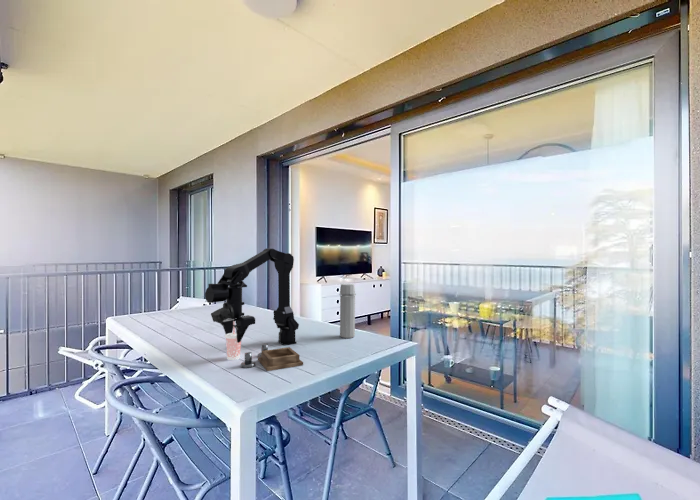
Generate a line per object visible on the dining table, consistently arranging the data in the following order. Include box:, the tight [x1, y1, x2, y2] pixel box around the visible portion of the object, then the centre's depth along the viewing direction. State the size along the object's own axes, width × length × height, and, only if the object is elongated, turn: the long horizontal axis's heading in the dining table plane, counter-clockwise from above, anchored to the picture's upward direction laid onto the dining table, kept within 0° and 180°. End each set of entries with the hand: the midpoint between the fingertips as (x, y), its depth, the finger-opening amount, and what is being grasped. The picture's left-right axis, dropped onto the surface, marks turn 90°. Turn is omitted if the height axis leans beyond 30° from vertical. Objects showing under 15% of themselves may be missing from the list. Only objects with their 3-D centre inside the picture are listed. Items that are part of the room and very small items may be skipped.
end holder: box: [257, 346, 304, 372], centre depth 123 cm, size 13×13×4 cm
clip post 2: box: [257, 343, 269, 358], centre depth 131 cm, size 5×5×4 cm
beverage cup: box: [224, 321, 242, 361], centre depth 128 cm, size 6×6×14 cm
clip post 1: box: [240, 351, 256, 369], centre depth 120 cm, size 5×5×4 cm
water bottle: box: [338, 283, 357, 339], centre depth 160 cm, size 9×8×25 cm
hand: (233, 340), depth 128 cm, fingers closed on beverage cup, 6 cm apart
